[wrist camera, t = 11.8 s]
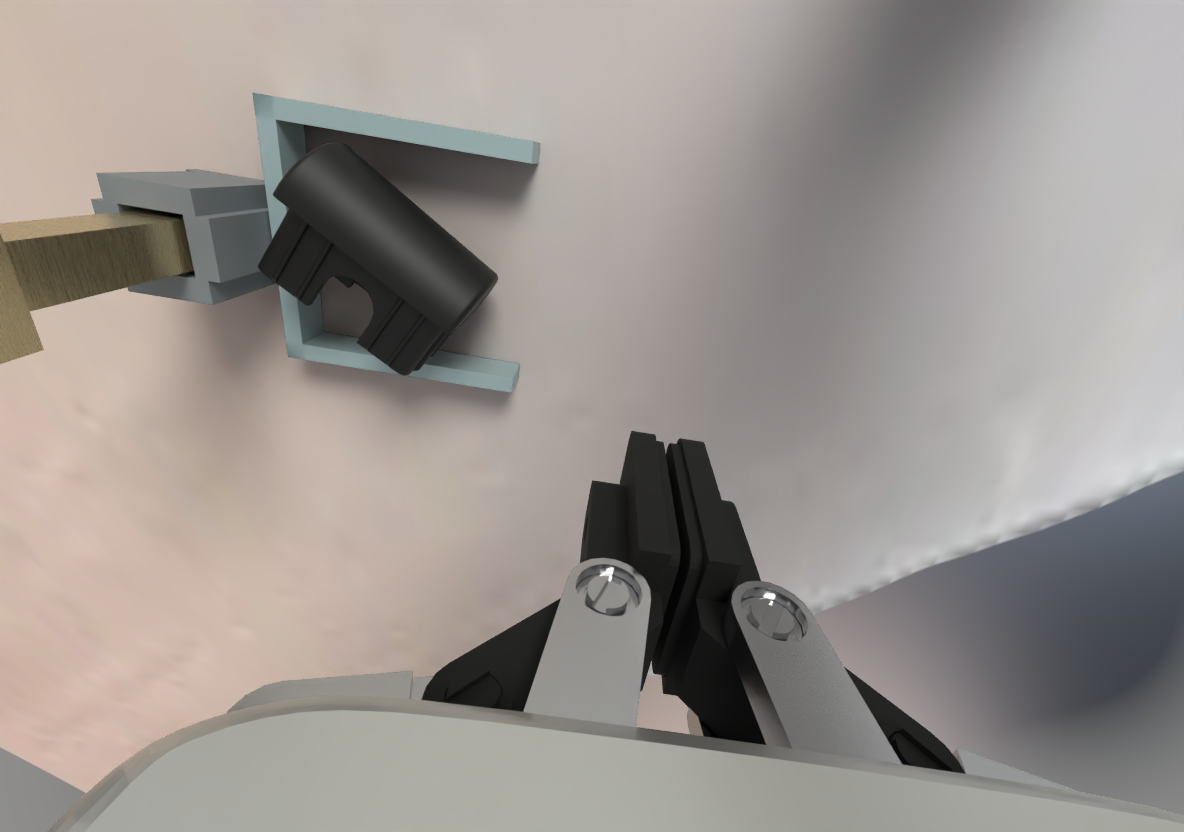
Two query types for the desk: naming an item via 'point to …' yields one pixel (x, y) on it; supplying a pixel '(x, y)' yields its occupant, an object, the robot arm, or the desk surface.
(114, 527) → the desk surface
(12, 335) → the pin
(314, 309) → the u-shaped bracket with socket
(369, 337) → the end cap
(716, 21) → the desk surface
